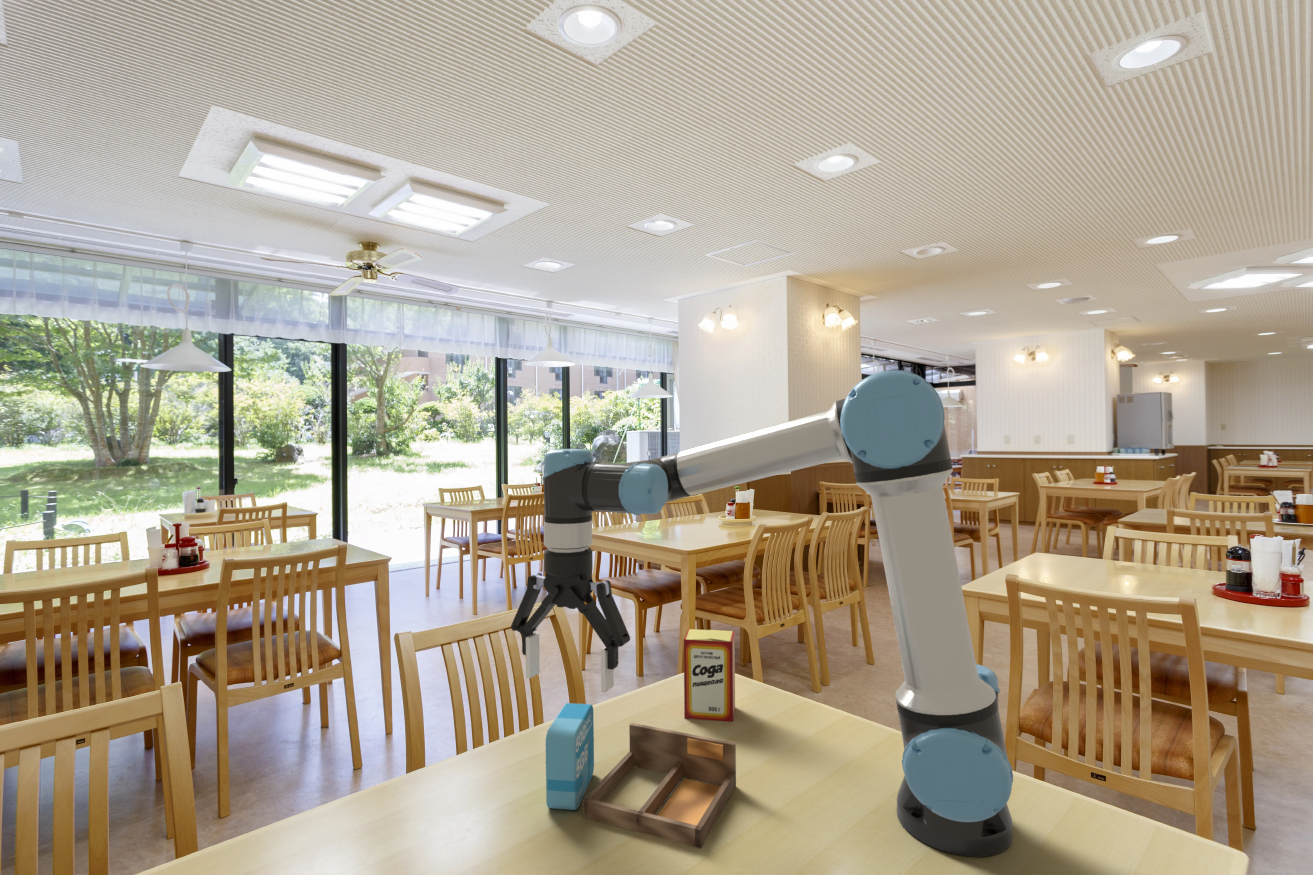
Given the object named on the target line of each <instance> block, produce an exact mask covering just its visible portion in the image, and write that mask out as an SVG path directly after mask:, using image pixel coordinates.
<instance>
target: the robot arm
mask: <svg viewBox="0 0 1313 875" xmlns="http://www.w3.org/2000/svg"><path fill="white" fill-rule="evenodd" d="M945 419H946V418H945V408H944V404H943V400H942V399H941V396H940V395H939V393H938V391H936V389H935V387H934V386H932V384H931V383H930V382H929V381H928V380H926V379H924V378H923V377H921V376H920V375H918V374H915V373H913V372H911V371H906V370H899V369H892V370H882V371H880V372H877V373H874V374H869V375H868V376H867V377H865V378H863V379H862V380H861V381H859V382H858V383H856V384H855V385H854V386H853V388H852V389H851V390H850V391H849V393H847V396H846V397H845V398H843V399H839V400H836V401H834V402H833V404H832V405H831V408H830V409H828V410H826V411H821V412H819V413H814V414H810V415H807V416H803V417H799V418H797V419H793V420H790V421H786V422H782V423H777V424H775V425H772V426H768V427H765V428H760V429H757V430H754V431H751V432H746V433H743V434H740V435H736V436H733V437H732V436H731V437H729V438H725V439H721V440H717V441H714V442H711V443H707V444H703V445H700V446H697V447H694V448H690V449H687V450H683V451H680V452H675V453H671V454H668V455H667V454H666V455H663V456H661V457H656V458H653V459H647V460H646V459H645V460H639V461H632V462H631V461H629V462H596V461H594V459H593V453H592V451H591V450H590V449H586V448H585V449H584V448H583V449H582V448H555V449H550V450H548V451H547V452H546V453H545V455H544V457H543V458H544V460H543V462H544V463H543V476H542V482H543V503H544V504H543V505H544V506H543V507H544V515H543V546H545V547H546V548H545V550H544V552H543V571H544V572H545V576H544V575H543V574H542V573H540V572H537V573H535V574H532V575H530V576H528V577H527V582H526V585H527V586H526V590H525V593H524V594H523V597H522V600H521V602H520V605H519V606H518V608H517V611H516V613H515V615H514V618H513V621H512V622H511V625H510V629H511V631H514V632H515V631H516V632H518V633H520V635H521V648H522V649H521V652H522V655H523V656H525V678H526V679H532V678H533V677H535V676H536V675H538V674H539V673H540V666H541V665H540V663H541V662H540V632H536V631H537V630H538V629H537V628H538V627H539V626H540V624H541V623H542V622H543V621H544V619H545V618H546V617H547V616H548V615H549V613H550V612H551V611H552V609H554V608H555V606H556V608H568V609H570V610H575V609H577V610H578V611H579V613H580V614H582V615H583V616H584V617H585V619H586V620H587V622H588V623H589V624H590V626H591V628H593V631H594V632H595V633H596V635H597V636H598V638H599V639H600V640H601V642H602V644H603V645H604V646H603V647H602V648H600V692H602V693H607V692H608V691H610V689H611V688H614V686H615V681H614V680H615V679H614V674H615V673H614V672H615V669H616V668H618V666H619V648H620V647H623V646H624V645H626V644H628V642H630V641H631V636H630V633H629V631H628V629H627V627H626V625H625V622H624V619H623V618H622V615H621V613H620V610H619V608H618V605H617V604H616V601H615V599H614V596H613V592H612V583H611V581H610V580H608V579H606V580H603V581H596V582H595V581H593V577H592V574H593V549H592V548H591V547H590V546H591V545H592V544H593V512H605V513H618V514H629V515H630V514H631V515H634V516H641V515H655V514H659V513H660V512H661V511H662V509H663V508H664V506H665V505H666V503H669V502H674V501H676V500H677V501H678V500H681V499H685V498H689V497H691V496H695V495H699V494H704V493H709V492H711V491H716V490H720V489H724V488H729V487H732V486H736V485H740V484H745V483H749V482H753V481H756V480H760V479H765V478H769V477H773V476H778V475H781V474H785V473H789V472H795V471H797V470H801V469H806V468H810V467H814V466H817V465H823V464H826V463H830V462H834V461H838V460H845V461H847V462H849V463H850V464H852V468H853V473H854V478H855V483H856V486H857V487H859V488H861V490H864V491H865V492H867V494H868V495H869V496H870V497H871V503H872V507H873V513H874V520H875V525H876V530H877V535H878V542H879V546H880V547H879V548H880V553H881V557H882V562H883V567H884V573H885V574H884V575H885V579H886V580H885V581H886V585H887V589H888V595H889V602H890V608H891V612H892V617H893V623H894V628H895V629H894V630H895V634H896V640H897V645H898V650H899V656H900V662H901V666H902V671H903V677H904V681H903V682H902V683H901V685H900V686H899V688H898V689H897V690H896V691H895V694H894V695H895V697H894V698H895V702H896V708H897V713H898V714H897V715H898V721H899V725H900V726H899V727H900V730H901V731H900V732H901V737H902V741H903V742H902V743H903V750H904V751H903V752H902V760H901V765H902V772H903V774H904V775H903V779H902V781H901V783H900V785H899V789H898V792H897V796H896V816H897V819H898V820H899V823H900V824H901V826H902V827H903V828H904V830H906V831H907V833H909V834H910V835H911V836H913V837H914V838H916V839H917V840H918V841H920V842H922V843H924V844H926V845H928V846H930V847H932V848H935V849H937V850H939V851H943V852H946V853H949V854H953V855H958V856H964V857H965V856H966V857H987V856H988V857H989V856H990V857H991V856H993V855H997V854H1000V853H1002V852H1004V851H1006V850H1007V849H1008V848H1009V847H1010V846H1011V844H1012V842H1013V820H1012V815H1011V812H1010V809H1009V806H1008V803H1009V799H1010V797H1011V794H1012V790H1013V782H1014V774H1013V773H1014V772H1013V767H1012V765H1011V763H1010V761H1009V757H1008V751H1007V747H1006V743H1005V742H1006V741H1005V736H1004V730H1003V725H1002V722H1001V721H1002V720H1001V717H1000V711H999V693H1000V692H1001V690H1000V688H999V679H998V676H997V674H996V673H995V672H994V671H993V670H992V669H991V668H988V667H986V666H984V665H981V664H978V663H977V662H976V657H975V656H976V655H975V651H974V647H973V640H972V636H971V630H970V624H969V620H968V615H967V609H966V605H965V604H966V603H965V599H964V598H965V597H964V594H963V588H962V582H961V577H960V576H961V575H960V572H959V565H958V560H957V556H956V550H955V545H954V540H953V533H952V529H951V524H950V523H951V522H950V519H949V514H948V507H947V503H946V497H945V493H944V484H945V482H946V480H947V479H948V478H949V477H950V476H951V474H952V473H953V471H954V469H953V464H952V463H953V462H952V458H951V456H952V455H951V452H950V447H949V446H950V445H949V441H948V436H947V431H946V425H945ZM543 588H545V590H546V592H547V595H545V597H544V598H543V600H542V601H541V603H540V605H539V606H538V608H537V609H536V610H535V611H534V612H533V614H532V611H533V609H534V606H535V604H536V602H537V599H538V597H539V596H540V593H541V592H542V591H541V590H542V589H543ZM593 592H594V596H595V597H597V601H598V604H599V607H600V609H601V611H602V612H601V611H600V609H599V608H598V606H597V602H596V601H595V598H594V597H593V596H592V593H593ZM585 603H586V604H585ZM531 614H532V615H531Z"/></svg>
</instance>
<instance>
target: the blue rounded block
mask: <svg viewBox="0 0 1313 875" xmlns="http://www.w3.org/2000/svg"><path fill="white" fill-rule="evenodd" d="M594 724H595V722H594V707H593V704H589V703H574V702H573V703H571V702H569V703H568V702H566V703H564V705H563V706H562V708H561V709H560V711H559V712H558V714H557V715H556V717H555V718H554V720H553V722H552V723H551V725H550V726H549V727H548V729H547V732H546V735H545V788H546V789H545V790H546V791H545V792H546V793H545V794H546V796H545V797H546V800H545V801H546V807H547V808H548V809H555V810H556V809H557V810H558V809H559V810H570V811H577V810H578V809H579V806H580V804H581V803H582V801H583V799H584V798H583V797H584V796H585V793H586V790H588V786H589V785H590V782H591V780H592V778H593V774H594V770H595V769H594V768H595V740H594V738H595V736H594V734H595V733H594V732H595V731H594V730H595V727H594Z"/></svg>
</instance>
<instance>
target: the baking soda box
mask: <svg viewBox="0 0 1313 875" xmlns="http://www.w3.org/2000/svg"><path fill="white" fill-rule="evenodd" d="M735 636H736V635H735V631H734V630H724V629H723V630H719V629H694V628H692V629H691V628H688V629H687V632H686V633H685V636H684V638H683V688H684V689H683V692H684V693H683V694H684V695H683V698H684V700H683V703H684V706H683V707H684V712H683V713H684V719H685V720H686V719H687V720H698V721H699V720H700V721H701V720H702V721H703V720H704V721H712V722H713V721H716V722H727V723H729V722H730V723H733V722H734V718H735V713H736V712H735V710H736V664H735V663H736V659H735V658H736V657H735V656H736V655H735V654H736V653H735V652H736V651H735V650H736V648H735V644H736V642H735V640H736V638H735Z"/></svg>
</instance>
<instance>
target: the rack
mask: <svg viewBox="0 0 1313 875" xmlns="http://www.w3.org/2000/svg"><path fill="white" fill-rule="evenodd" d="M628 729H629V751H628V752H627V753H626V755H624V757H622V758H621V759H620V761H618V762H617V763H616V765H615V766H614V767H613V768H612V769H611V770H610V771H609V772H608V773H607V774H606V775H605V776H604V777H603V778H602V779H601V780H600V781H599V782H598V783H597V784H596V786H595V787H594V788H593V789H592V790H591V791H590V792H589V793H588V794H587V795H586V796H585V797H584V798H582V818H584V819H588V820H592V821H595V822H600V823H603V824H607V825H611V826H615V827H620V828H622V829H627V830H630V831H634V832H638V833H641V834H645V835H649V836H652V837H656V838H660V839H664V840H667V841H670V842H674V843H679V844H682V845H687V846H691V847H694V848H698V849H701V848H702V847H703V845H704V843H705V841H706V840H707V837H708V836H709V835H710V833H711V831H712V829H713V827H714V826H715V824H716V822H717V820H718V819H719V817H720V815H721V813H722V811H723V810H724V808H725V807H726V804H727V803H728V801H729V799H730V798H731V796H732V794H733V792H734V790H735V789H736V787H737V754H736V753H737V752H736V750H737V749H736V746H737V745H736V744H737V743H736V742H733V741H730V740H729V741H727V740H723V739H717V738H712V737H707V736H703V735H697V734H691V733H685V732H681V731H676V730H672V729H665V728H660V727H655V726H650V725H646V724H645V725H644V724H641V723H640V724H639V723H636V722H635V723H634V722H631V723H630V724H629V728H628ZM633 768H639V769H643V770H647V771H652V772H657V773H662V774H666V776H665V777H664V778H663V780H662V781H661V782H660V784H659V785H658V786H657V787H656V789H655V790H654V791H653V792H652V794H650V796H649V797H648V799H647V800H646V802H645V803H644V804H643V805H642V807H641V808H640V809H639V810H636V809H633V808H628V807H626V806H625V807H624V806H621V805H617V804H613V803H609V802H604V801H605V799H607V797H608V796H609V795H610V794H611V793H612V792H613V791H614V790H615V789H616V787H617V786H618V785H619V784H620V783H621V782H622V781H623V780H624V779H625V777H627V775H628V774H629V773H630V771H632V769H633ZM682 779H683V780H682ZM680 781H681V782H680ZM679 783H680V784H679ZM678 784H679V785H678ZM676 787H677V788H676ZM675 789H676V790H675ZM674 790H675V791H674ZM671 794H672V795H671ZM667 799H668V800H667ZM666 800H667V801H666ZM665 802H666V803H665ZM664 803H665V804H664ZM663 805H664V806H663ZM660 809H661V810H660ZM659 810H660V811H659ZM657 813H658V814H657Z"/></svg>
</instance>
